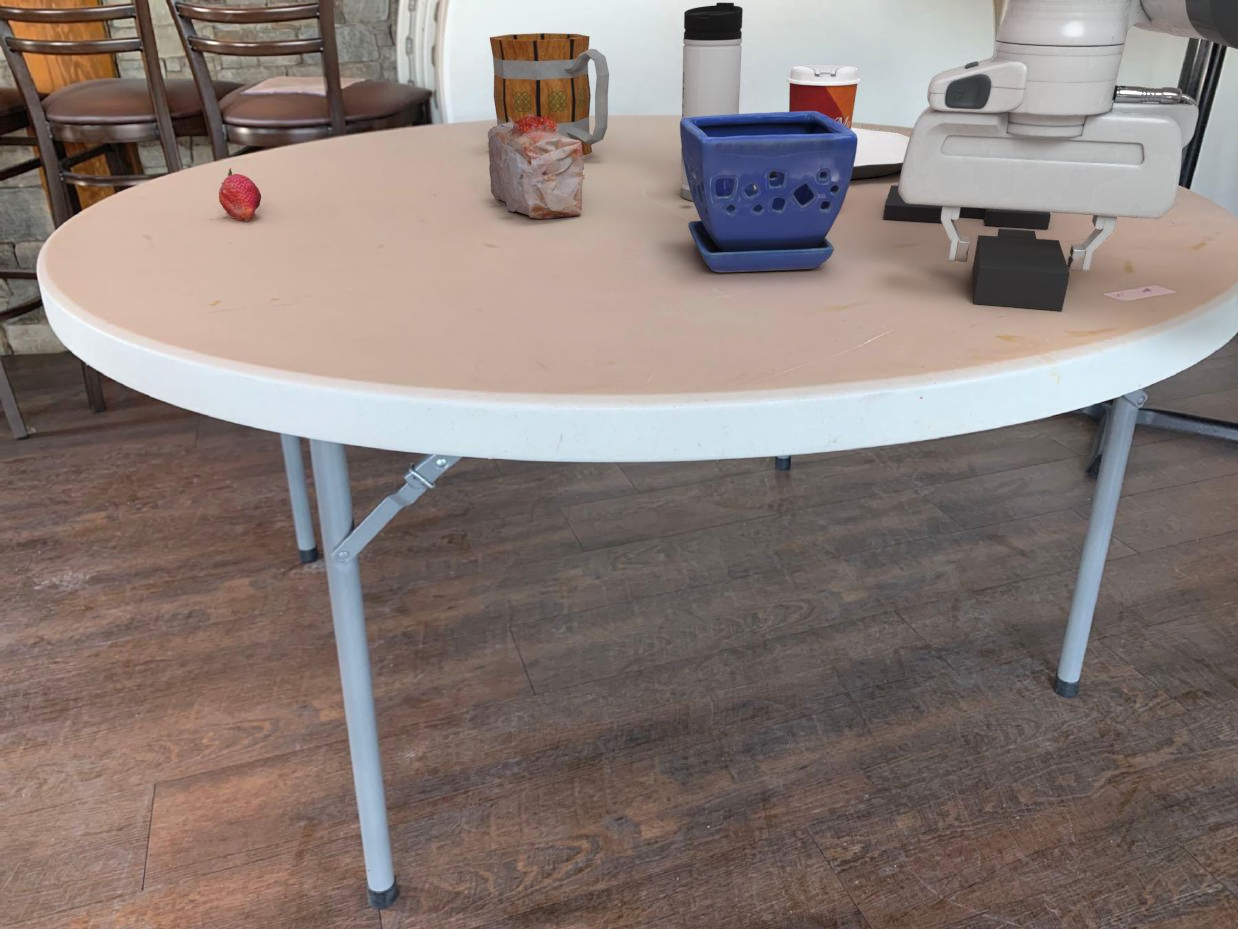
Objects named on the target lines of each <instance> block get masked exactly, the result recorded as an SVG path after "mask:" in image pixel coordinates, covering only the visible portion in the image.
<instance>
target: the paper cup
mask: <svg viewBox="0 0 1238 929" xmlns="http://www.w3.org/2000/svg"><path fill="white" fill-rule="evenodd" d="M786 82H787V83H789V92H788V94H789V96H788V97H789V98H788V100H789V101H788V104H789V105H788V112H798V111H817V112H819V113H822V114H824V115H826V116H828V117H830V118H831V119H833V120H835V121H837V122H839V123H841V124H843V125H844V126H846V127H848V128H849V129H851V128H852V123H853V116H854V110H855V103H856V97H857V91H858V84H860V83H861V82H862V80H861V78H860V77H859V69H858V67H856V66H853V65H852V66H851V65H843V64H804V65H803V64H801V65H795V66H792V68H791V70H790V75H789V77H788V78H787V79H786Z"/></svg>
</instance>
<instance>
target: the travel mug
mask: <svg viewBox="0 0 1238 929" xmlns="http://www.w3.org/2000/svg"><path fill="white" fill-rule="evenodd" d="M683 13H684V14H683V29H684V31H683V40H682V43H683V44H684V45H683V46H682V88H681V89H682V91H681V92H682V96H681V119H683V118H689V117H701V116H714V115H730V114H740V97H741V96H740V95H741V72H742V71H741V70H742V69H741V68H742V51H743V50H742V48H743V46H742V45H741V44H742V43H743V37H742V35H743V34H742V33H743V32H742V28H743V13H744V10H743V7H742V6H739V5H735V2H716V3H715V4H714V5H704V6H699V7H698V6H697V7H692V8H689V9H687V10H685V11H684V12H683ZM680 181H681V182H680V196H681V197H682V198H683V199H684V200H686V201H691V202H694V201H693V198H692V195H691V192H690V188H689V185H688V181H687V177H686V171H685V166H684V161H683V154H682V146H681V156H680Z"/></svg>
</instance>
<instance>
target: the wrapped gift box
mask: <svg viewBox="0 0 1238 929" xmlns="http://www.w3.org/2000/svg"><path fill="white" fill-rule="evenodd" d="M509 119H510V121H511V122H508V123H504V124H500V125H497V124H496V125H495V126H492V127H491V128H490V129H488V132H487V134H488V135H487V138H488V141H487V146H488V159H489V160H488V161H489V166H488V171H489V177H490V178H489V180H490V192H491V194H492V196H493V198H494V199H496V200H500V201H502V202H504V203H505V204H506V210H507V212H513V213H520V214H522V215H526V216H528V217H529V218H531V219H536V220H547V219H559V218H569V217H573V216H575V217H576V216H580V215H582V213H581V212H582V210H583V182H584V181H583V180H585V179H586V178H585V174H584V172H583V171H584V169H585V166H584V155H583V153H582V143H581V141H579V140H574V139H571V138H568V137H565V136H563V135H560V134H558V131H559V130H558V129H557V124H556V123H553V121H552V118H551V117H545V116H544V117H543V118H540V117H535V116H534V114H533V113H532V114H529V115H528V116H526V117H524V118H522V119H519V120H518V121H514V122H513V121H512V119H511V118H510V117H509Z"/></svg>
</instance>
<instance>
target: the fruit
mask: <svg viewBox="0 0 1238 929" xmlns="http://www.w3.org/2000/svg"><path fill="white" fill-rule="evenodd" d="M218 199H219V201H218V202H219V203H220V205H221V206H222V208H223V209H224V211H225V213H226V214H228V216H230V217H231V218H233V219H235V220H238V221H240V222H245V221H247V222H248V221H250V220H251V219H253V218H254V216H255V212H256V210H257V209H258V208H259V206H260V205H261V202H262V201H261V200H262V193H261V191H260V189H259V188H258V186H257V185H256V184H255V182H254V181H253V180H252V179H250V177H248V176H246V175H243V174H239V173H234V174H233V172H232V168H231V167H230V168H229V169H228V172H227V176H226V177H225V179H223V181H222V182H221V186H220V187H219V190H218Z"/></svg>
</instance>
